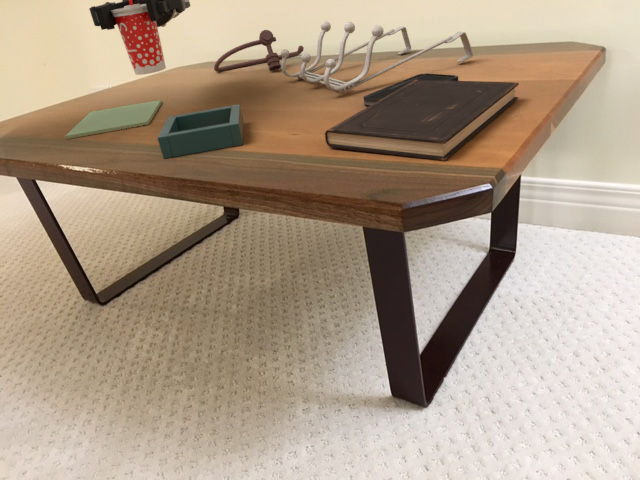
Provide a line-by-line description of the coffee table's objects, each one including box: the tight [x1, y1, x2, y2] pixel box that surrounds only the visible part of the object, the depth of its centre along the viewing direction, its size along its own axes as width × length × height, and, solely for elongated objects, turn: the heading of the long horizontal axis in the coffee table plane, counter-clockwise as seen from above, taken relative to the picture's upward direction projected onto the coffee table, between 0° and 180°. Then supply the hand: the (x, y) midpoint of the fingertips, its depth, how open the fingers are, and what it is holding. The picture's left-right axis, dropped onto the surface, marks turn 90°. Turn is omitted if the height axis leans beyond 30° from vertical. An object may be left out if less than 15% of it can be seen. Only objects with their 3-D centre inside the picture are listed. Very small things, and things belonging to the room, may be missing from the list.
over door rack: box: [280, 20, 474, 94], centre depth 99 cm, size 22×29×10 cm
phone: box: [363, 73, 459, 107], centre depth 84 cm, size 8×1×15 cm
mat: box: [64, 99, 163, 140], centre depth 98 cm, size 14×16×1 cm
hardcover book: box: [324, 80, 520, 162], centre depth 70 cm, size 16×23×2 cm
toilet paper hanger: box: [213, 29, 305, 73], centre depth 122 cm, size 22×8×14 cm
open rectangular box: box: [157, 103, 245, 160], centre depth 78 cm, size 11×11×3 cm
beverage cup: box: [111, 0, 167, 76], centre depth 78 cm, size 6×6×14 cm
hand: (125, 14), depth 73 cm, fingers closed on beverage cup, 6 cm apart
